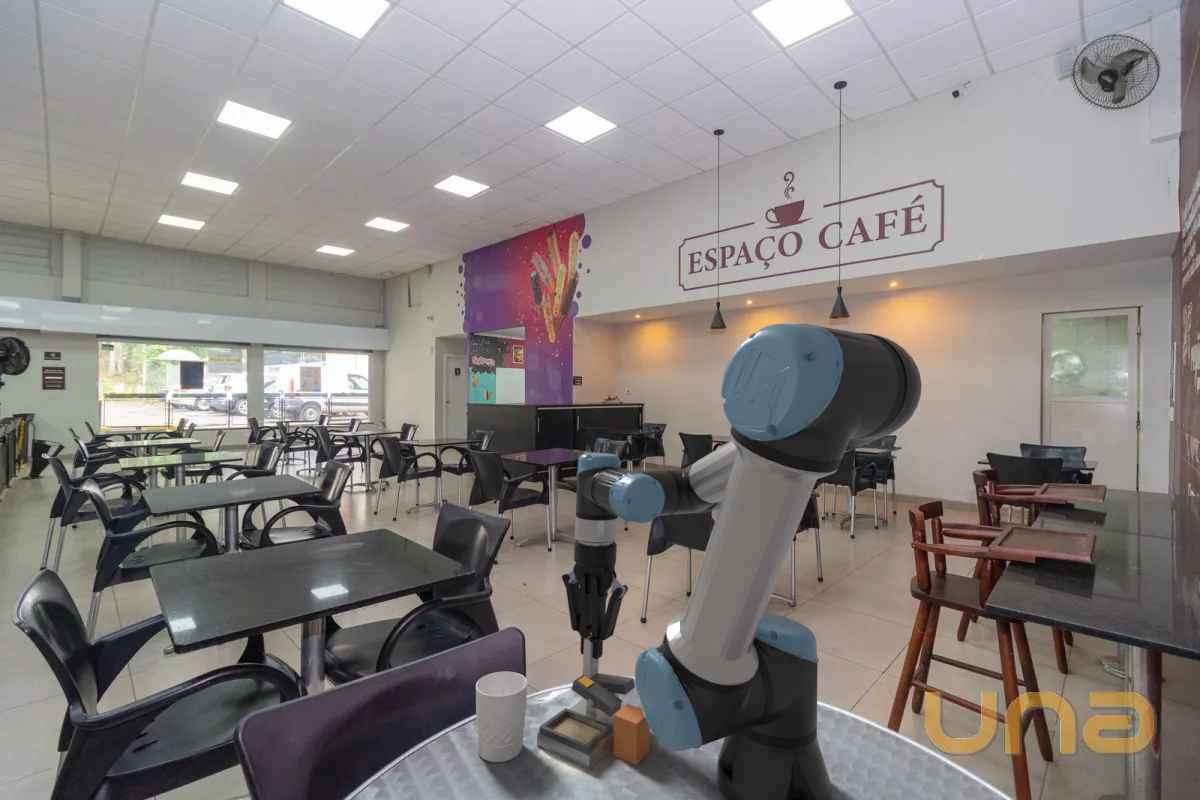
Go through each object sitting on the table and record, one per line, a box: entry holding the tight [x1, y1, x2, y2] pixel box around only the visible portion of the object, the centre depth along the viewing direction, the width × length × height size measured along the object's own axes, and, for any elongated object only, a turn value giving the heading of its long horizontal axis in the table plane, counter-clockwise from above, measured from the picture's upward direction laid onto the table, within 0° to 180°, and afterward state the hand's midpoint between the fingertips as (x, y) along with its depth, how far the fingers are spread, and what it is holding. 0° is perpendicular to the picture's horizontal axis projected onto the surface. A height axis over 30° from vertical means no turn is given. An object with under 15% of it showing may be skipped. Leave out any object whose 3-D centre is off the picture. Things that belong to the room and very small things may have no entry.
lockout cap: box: [612, 703, 650, 766], centre depth 82 cm, size 4×4×6 cm
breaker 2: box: [590, 672, 636, 696], centre depth 91 cm, size 8×3×2 cm, turn 56°
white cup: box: [475, 671, 528, 763], centre depth 82 cm, size 8×8×10 cm
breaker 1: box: [571, 674, 623, 717], centre depth 88 cm, size 8×3×2 cm, turn 55°
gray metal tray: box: [536, 692, 627, 771], centre depth 87 cm, size 10×15×4 cm, turn 146°
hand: (590, 674), depth 94 cm, fingers closed
